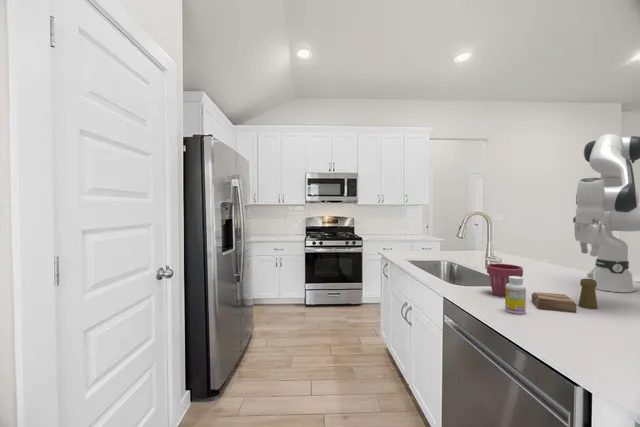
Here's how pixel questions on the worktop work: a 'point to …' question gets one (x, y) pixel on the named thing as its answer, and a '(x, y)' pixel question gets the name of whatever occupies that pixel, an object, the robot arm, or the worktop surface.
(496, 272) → the plant pot
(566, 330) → the worktop surface
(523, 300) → the supplement bottle
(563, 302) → the walnut stand
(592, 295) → the cork
